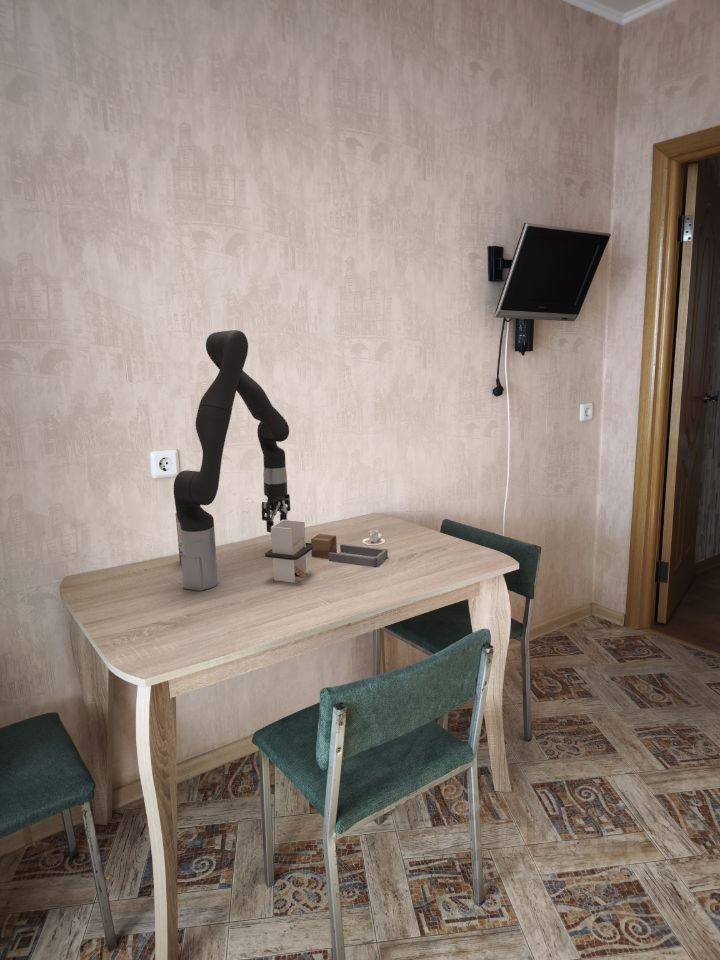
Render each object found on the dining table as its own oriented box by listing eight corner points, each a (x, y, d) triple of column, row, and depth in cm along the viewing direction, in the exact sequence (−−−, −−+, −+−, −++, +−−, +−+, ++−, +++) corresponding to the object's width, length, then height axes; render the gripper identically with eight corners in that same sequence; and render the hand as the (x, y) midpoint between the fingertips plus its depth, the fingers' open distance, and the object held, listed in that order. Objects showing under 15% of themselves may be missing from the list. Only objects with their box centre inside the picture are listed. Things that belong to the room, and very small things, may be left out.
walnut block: (328, 559, 209) (327, 541, 207) (272, 551, 217) (271, 534, 216) (336, 553, 214) (336, 535, 213) (281, 546, 222) (281, 528, 221)
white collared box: (310, 598, 179) (308, 541, 175) (232, 588, 187) (228, 533, 184) (344, 567, 202) (342, 515, 198) (273, 559, 210) (270, 509, 206)
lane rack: (376, 567, 201) (376, 559, 200) (328, 560, 207) (328, 553, 206) (387, 556, 209) (387, 549, 209) (341, 551, 216) (341, 543, 215)
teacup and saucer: (375, 536, 231) (375, 525, 230) (391, 542, 225) (391, 530, 224) (357, 542, 225) (356, 531, 224) (373, 548, 219) (373, 536, 218)
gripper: (276, 475, 222) (278, 522, 225) (253, 484, 209) (255, 533, 212) (296, 477, 219) (297, 524, 222) (274, 485, 206) (275, 535, 209)
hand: (277, 528), depth 217 cm, fingers open, 8 cm apart
